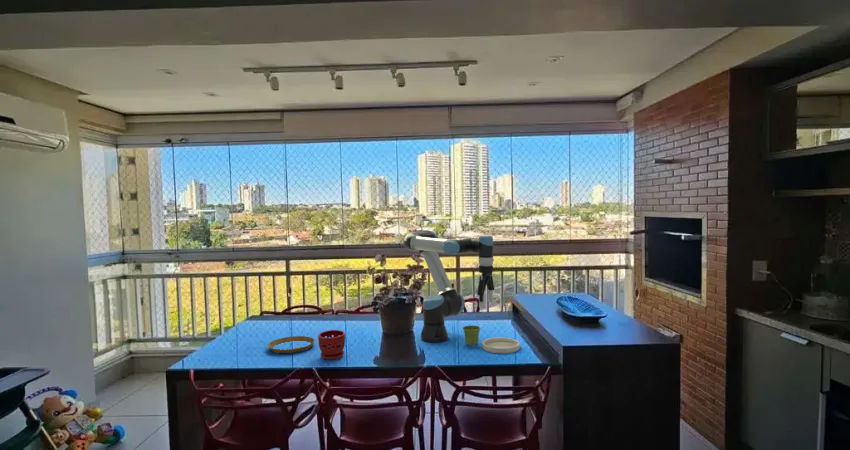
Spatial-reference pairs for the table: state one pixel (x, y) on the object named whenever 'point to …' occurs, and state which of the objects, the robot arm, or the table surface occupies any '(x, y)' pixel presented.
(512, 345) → the saucer
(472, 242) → the robot arm
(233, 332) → the table surface
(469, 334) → the plant pot
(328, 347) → the plant pot
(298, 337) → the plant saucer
